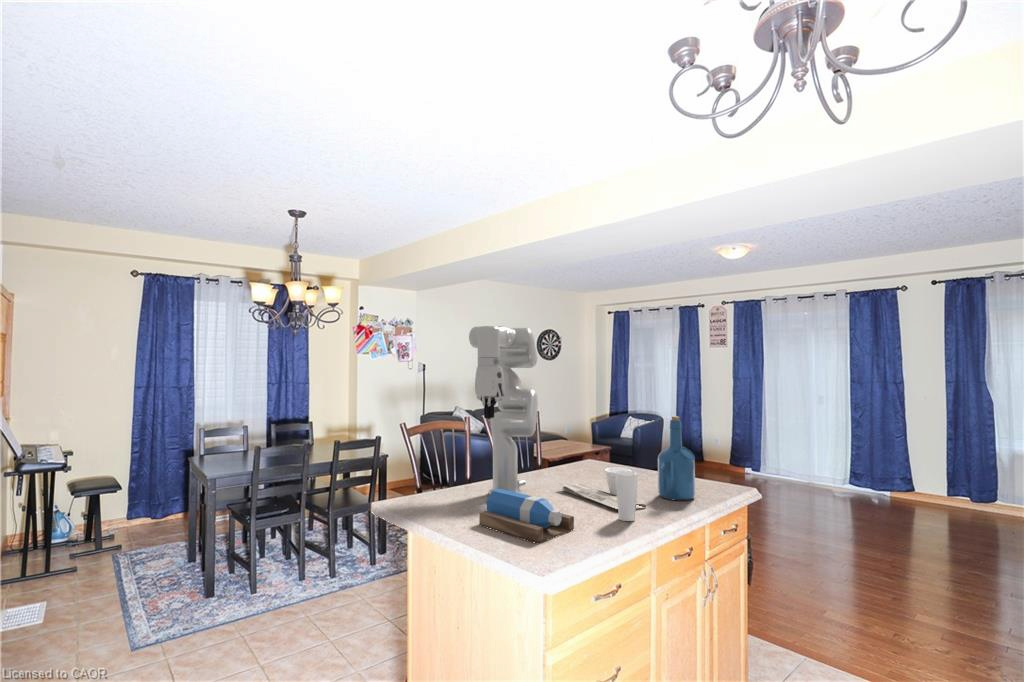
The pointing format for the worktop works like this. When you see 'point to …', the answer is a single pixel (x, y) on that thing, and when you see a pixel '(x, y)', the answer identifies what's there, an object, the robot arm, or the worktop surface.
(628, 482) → the drinking glass
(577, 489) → the newspaper
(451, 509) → the worktop surface
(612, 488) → the cup
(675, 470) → the wine bottle
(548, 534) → the u rest
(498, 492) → the water bottle
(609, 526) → the worktop surface
